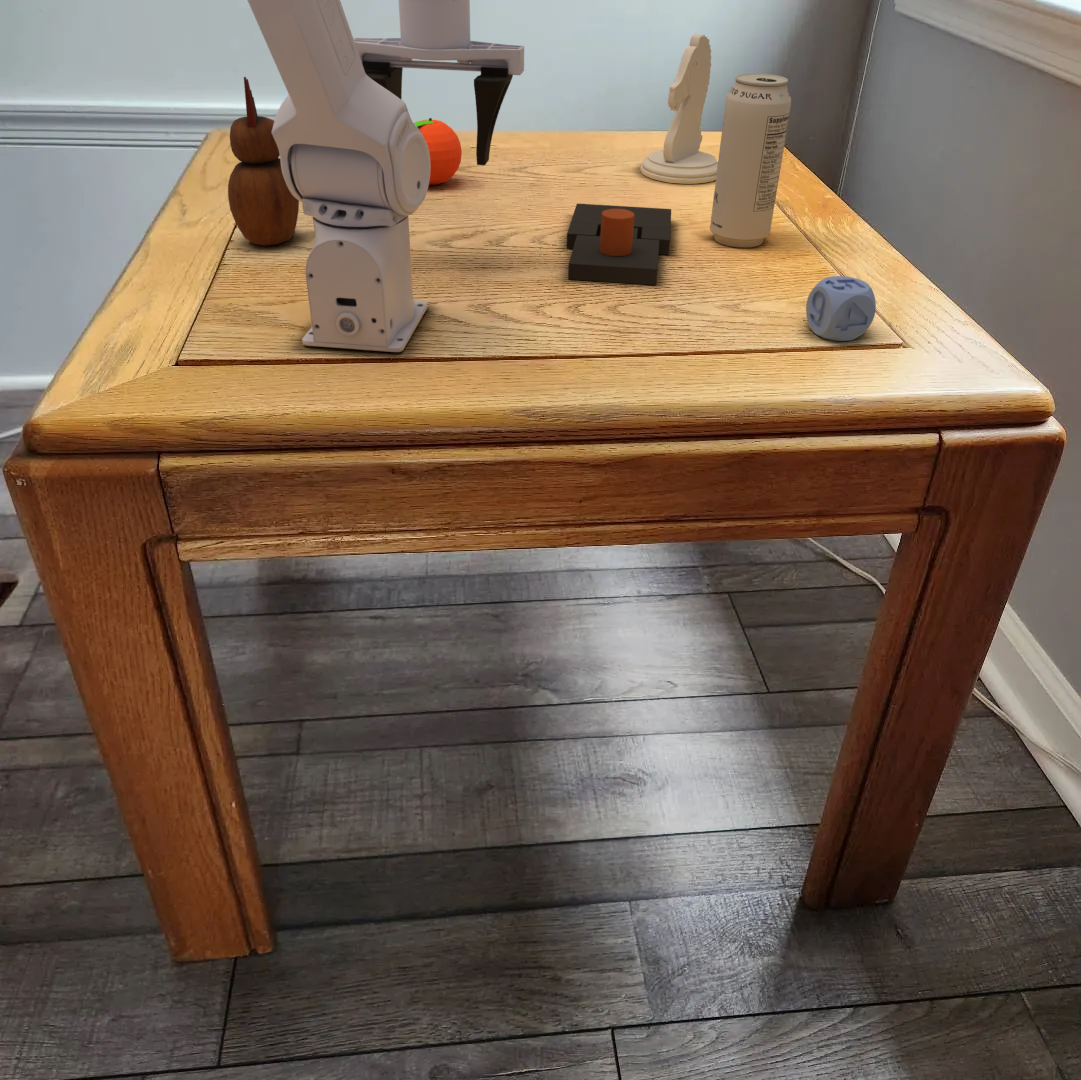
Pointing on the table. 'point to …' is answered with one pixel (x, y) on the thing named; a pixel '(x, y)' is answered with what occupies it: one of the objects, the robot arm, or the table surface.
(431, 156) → the clementine
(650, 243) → the pad
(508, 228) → the table surface
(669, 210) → the base pad
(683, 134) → the chess piece
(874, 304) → the decorative dice
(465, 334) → the table surface
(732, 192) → the energy drink can
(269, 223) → the wooden figurine
